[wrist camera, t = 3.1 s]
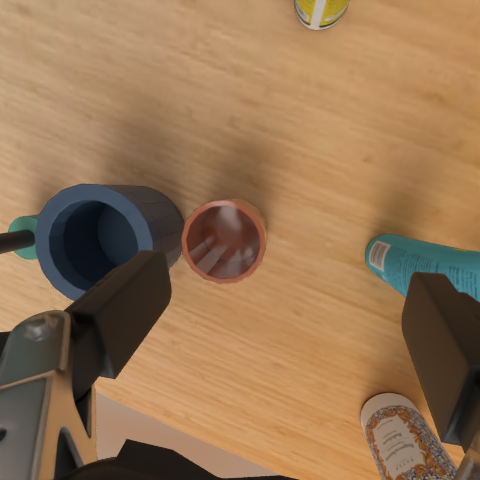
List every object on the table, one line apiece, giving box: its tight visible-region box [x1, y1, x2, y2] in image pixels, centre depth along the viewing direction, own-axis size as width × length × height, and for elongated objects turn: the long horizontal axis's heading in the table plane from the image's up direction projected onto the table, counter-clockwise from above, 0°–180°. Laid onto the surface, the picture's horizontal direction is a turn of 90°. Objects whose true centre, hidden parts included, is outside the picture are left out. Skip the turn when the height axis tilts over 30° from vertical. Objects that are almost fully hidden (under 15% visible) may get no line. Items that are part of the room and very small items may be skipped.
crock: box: [181, 198, 267, 284], centre depth 32 cm, size 8×8×8 cm
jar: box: [35, 184, 184, 301], centre depth 32 cm, size 11×11×10 cm
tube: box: [365, 234, 480, 302], centre depth 25 cm, size 7×5×19 cm, turn 15°
